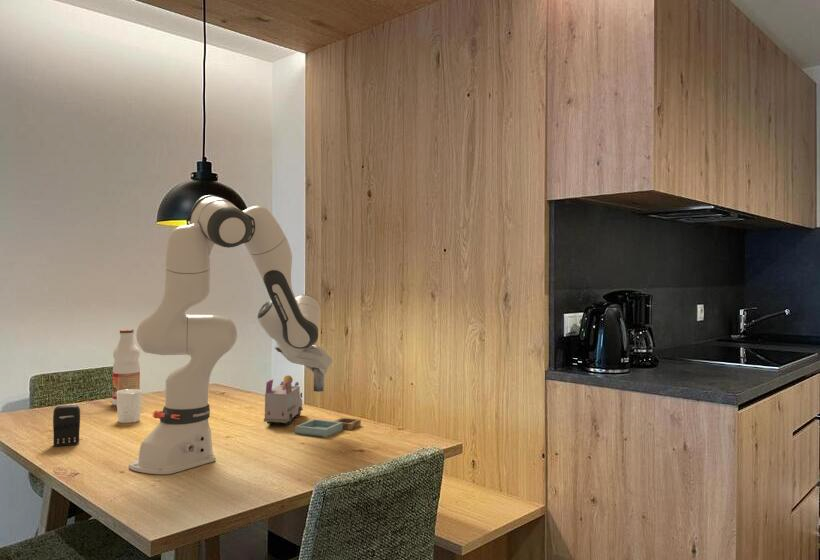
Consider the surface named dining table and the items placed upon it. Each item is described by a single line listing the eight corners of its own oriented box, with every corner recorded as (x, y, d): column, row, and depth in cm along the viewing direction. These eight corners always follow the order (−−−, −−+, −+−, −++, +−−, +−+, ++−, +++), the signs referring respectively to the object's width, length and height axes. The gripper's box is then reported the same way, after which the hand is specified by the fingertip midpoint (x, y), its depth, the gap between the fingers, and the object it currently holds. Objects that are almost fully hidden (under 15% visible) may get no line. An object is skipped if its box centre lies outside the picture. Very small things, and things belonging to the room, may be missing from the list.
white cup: (141, 422, 214) (141, 392, 214) (115, 424, 211) (115, 393, 211) (141, 417, 221) (142, 388, 221) (116, 419, 218) (117, 389, 218)
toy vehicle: (304, 415, 229) (305, 373, 229) (288, 428, 210) (289, 382, 210) (279, 414, 230) (280, 372, 230) (261, 427, 211) (262, 381, 210)
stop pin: (321, 392, 203) (321, 357, 203) (309, 391, 205) (310, 356, 205) (327, 390, 207) (328, 356, 207) (316, 389, 209) (316, 355, 209)
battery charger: (52, 448, 182) (52, 407, 182) (52, 444, 185) (53, 405, 185) (80, 445, 185) (80, 405, 185) (79, 442, 189) (80, 403, 189)
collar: (351, 430, 209) (351, 424, 209) (332, 427, 211) (332, 421, 211) (360, 425, 215) (360, 419, 215) (342, 423, 218) (342, 417, 218)
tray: (325, 437, 198) (326, 429, 198) (295, 434, 203) (295, 426, 203) (342, 430, 209) (342, 422, 209) (313, 426, 213) (313, 418, 213)
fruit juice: (129, 407, 237) (130, 331, 237) (106, 405, 239) (107, 330, 239) (144, 402, 246) (145, 329, 246) (122, 400, 248) (123, 328, 248)
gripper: (321, 338, 194) (346, 368, 200) (283, 333, 208) (308, 360, 215) (308, 354, 190) (334, 383, 197) (271, 347, 205) (296, 375, 212)
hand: (320, 371), depth 206 cm, fingers closed on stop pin, 3 cm apart
